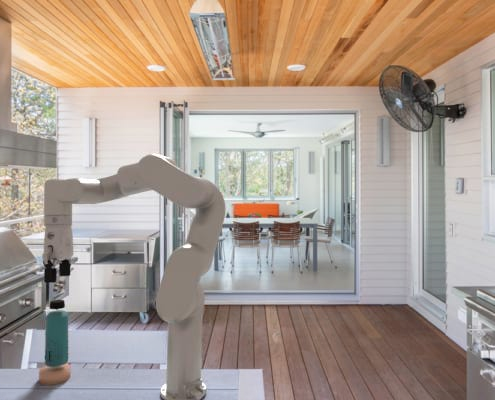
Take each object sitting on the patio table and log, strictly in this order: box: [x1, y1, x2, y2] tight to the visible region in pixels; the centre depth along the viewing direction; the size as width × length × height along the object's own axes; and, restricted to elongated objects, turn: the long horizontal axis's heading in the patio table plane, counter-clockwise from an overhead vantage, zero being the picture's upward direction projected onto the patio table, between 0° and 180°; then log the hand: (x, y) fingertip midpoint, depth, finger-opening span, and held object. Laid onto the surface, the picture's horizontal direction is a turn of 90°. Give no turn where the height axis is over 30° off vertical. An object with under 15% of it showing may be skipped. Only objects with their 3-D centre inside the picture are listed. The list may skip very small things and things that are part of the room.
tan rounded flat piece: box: [38, 362, 72, 386], centre depth 119 cm, size 8×8×3 cm
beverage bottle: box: [44, 299, 70, 367], centre depth 119 cm, size 6×7×20 cm
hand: (57, 278), depth 118 cm, fingers open, 9 cm apart
